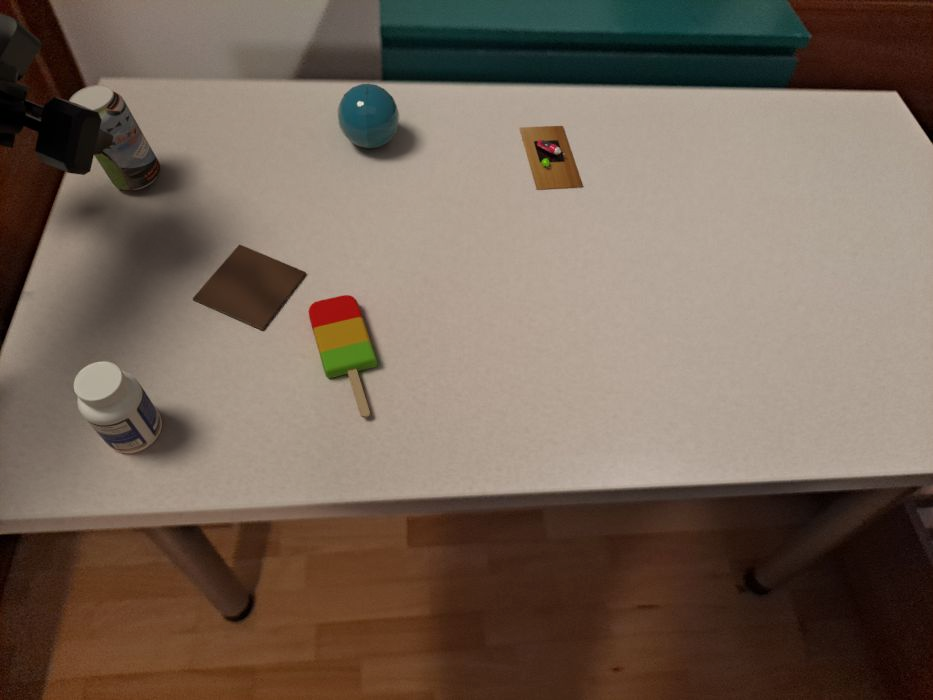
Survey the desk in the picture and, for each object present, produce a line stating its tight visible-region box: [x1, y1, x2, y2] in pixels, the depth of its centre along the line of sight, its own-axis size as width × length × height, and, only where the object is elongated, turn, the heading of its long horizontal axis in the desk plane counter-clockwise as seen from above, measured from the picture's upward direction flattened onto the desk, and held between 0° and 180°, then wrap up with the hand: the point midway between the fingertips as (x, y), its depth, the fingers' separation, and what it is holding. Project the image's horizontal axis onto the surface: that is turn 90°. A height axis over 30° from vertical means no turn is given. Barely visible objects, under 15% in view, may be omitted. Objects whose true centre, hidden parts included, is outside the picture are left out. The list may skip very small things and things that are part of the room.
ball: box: [337, 83, 400, 149], centre depth 89 cm, size 8×8×8 cm
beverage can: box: [68, 84, 161, 191], centre depth 81 cm, size 6×7×12 cm
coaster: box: [192, 244, 307, 332], centre depth 78 cm, size 9×9×1 cm
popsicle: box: [308, 294, 378, 418], centre depth 73 cm, size 6×15×2 cm, turn 19°
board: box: [519, 125, 584, 191], centre depth 93 cm, size 6×12×2 cm, turn 9°
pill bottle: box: [73, 361, 163, 454], centre depth 63 cm, size 5×5×10 cm
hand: (76, 126), depth 74 cm, fingers open, 9 cm apart
